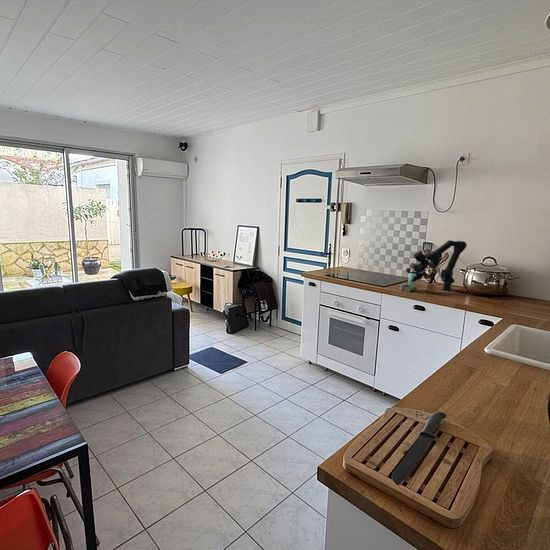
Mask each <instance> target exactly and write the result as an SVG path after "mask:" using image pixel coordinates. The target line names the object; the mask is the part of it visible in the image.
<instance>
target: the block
mask: <svg viewBox="0 0 550 550" xmlns="http://www.w3.org/2000/svg"><path fill="white" fill-rule="evenodd" d="M403 290H404V291H403V292H406V291H408V292H407V293H411V292H417V291H418V287H417V286H414V289H413V291H412V290H411V288H408V286H406V287H403Z"/></svg>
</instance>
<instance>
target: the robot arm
mask: <svg viewBox="0 0 550 550" xmlns="http://www.w3.org/2000/svg"><path fill="white" fill-rule="evenodd" d="M467 245H468V244H467V242H466V241H462V240H457V241H455V240H447V241H446V242H444V243H443V244H442V245H441V246H439V247H438V248H436V249H435V250H433V251H430V252H428V253H427V254H424V253H423V251H422V250H419V251H418V252H415V253H414V254H413V258H414V259H415V260H416V261H417V262H418V263H415V262H411V264H410V265H409V267H406V269H405V271H406V273H407V274H408V275H409V273H414V274H415V275H414V278H413V279H412V281H411V282H414V283H415V282H417V281H418V280H421V279H425V280H427V279H428V278H429V275H428V273H427V272H426V269H427V268H428V267H432V265H433V264H432V262H436V260H438V259H439V257H440V255H441V254H443V253H445V252H446V251H447V250H449V249H450V248H451V247H453V253H452V255H451V256H450V259H449V260H448V263H447V265H446V268H445V269H442V270H441V271H440V273H439V277H440V279H441V282H443V286H442V287H441V289H442V291H449V292H450V291H453V289H452V286H453V285H452V284H454V283H455V282H456V280H455V279H454V278H453V275H454V268H455V266H456V264H457V262H458V259H459V258H460V256H461V254H462V253H463V252H464V251H465V249H466V248H467ZM408 280H409V276H408V278H407V281H408Z"/></svg>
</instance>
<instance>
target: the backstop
mask: <svg viewBox="0 0 550 550" xmlns="http://www.w3.org/2000/svg"><path fill="white" fill-rule="evenodd" d="M406 286H408V283H402V284H399V291H401V290H403V287H406Z"/></svg>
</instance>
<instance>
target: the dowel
mask: <svg viewBox="0 0 550 550" xmlns="http://www.w3.org/2000/svg"><path fill="white" fill-rule="evenodd" d="M415 275H416V274H414V273H409V274H408V277H409V280H408V279H407V282H408V288H411V291H412V290H413V289H414V287H415V281H414V282H411V281H412V279H413V278H414V276H415Z"/></svg>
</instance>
